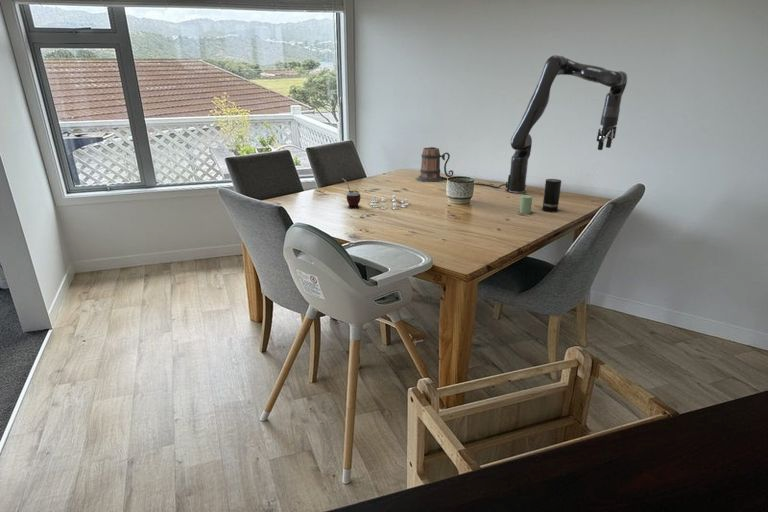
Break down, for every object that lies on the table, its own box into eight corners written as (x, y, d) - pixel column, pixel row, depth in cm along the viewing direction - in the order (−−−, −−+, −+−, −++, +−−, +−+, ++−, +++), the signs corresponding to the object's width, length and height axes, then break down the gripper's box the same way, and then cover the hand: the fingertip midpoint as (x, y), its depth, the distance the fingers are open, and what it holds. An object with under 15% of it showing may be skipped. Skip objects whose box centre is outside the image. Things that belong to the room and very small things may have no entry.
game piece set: (384, 198, 259) (384, 191, 258) (415, 203, 248) (415, 196, 247) (362, 205, 244) (362, 198, 243) (394, 211, 233) (394, 203, 232)
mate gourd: (363, 207, 241) (363, 177, 235) (352, 210, 235) (351, 179, 230) (353, 204, 245) (352, 175, 240) (342, 207, 240) (341, 177, 235)
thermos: (539, 210, 235) (543, 180, 230) (545, 207, 241) (548, 178, 236) (554, 212, 231) (558, 182, 226) (559, 209, 237) (563, 179, 231)
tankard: (414, 180, 304) (414, 149, 297) (420, 176, 319) (421, 146, 312) (450, 183, 297) (452, 151, 290) (455, 178, 312) (456, 147, 305)
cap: (517, 212, 231) (519, 196, 228) (522, 210, 235) (523, 194, 232) (528, 214, 228) (529, 198, 225) (532, 212, 232) (534, 196, 229)
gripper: (609, 113, 238) (603, 145, 244) (595, 115, 229) (589, 149, 236) (624, 114, 232) (617, 148, 239) (611, 117, 224) (604, 151, 230)
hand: (603, 148), depth 237 cm, fingers open, 8 cm apart
